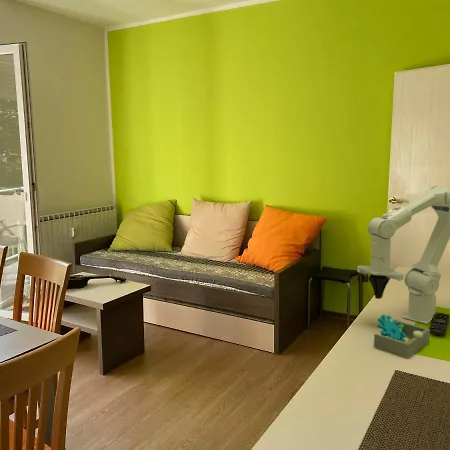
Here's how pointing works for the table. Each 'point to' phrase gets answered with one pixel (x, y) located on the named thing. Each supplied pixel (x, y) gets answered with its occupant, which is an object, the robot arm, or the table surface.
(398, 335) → the gear
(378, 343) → the housing
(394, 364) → the table surface
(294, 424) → the table surface
